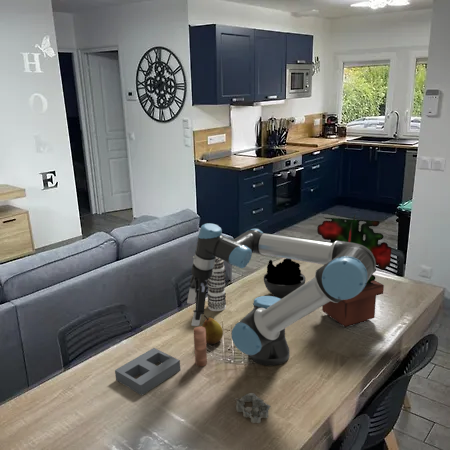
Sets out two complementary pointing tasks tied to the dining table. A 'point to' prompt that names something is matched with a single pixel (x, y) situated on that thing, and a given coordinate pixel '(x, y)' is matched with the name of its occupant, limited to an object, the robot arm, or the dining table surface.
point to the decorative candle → (217, 287)
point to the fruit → (212, 331)
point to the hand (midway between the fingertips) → (192, 313)
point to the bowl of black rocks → (283, 278)
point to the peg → (200, 346)
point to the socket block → (147, 370)
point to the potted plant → (365, 301)
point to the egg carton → (255, 408)
